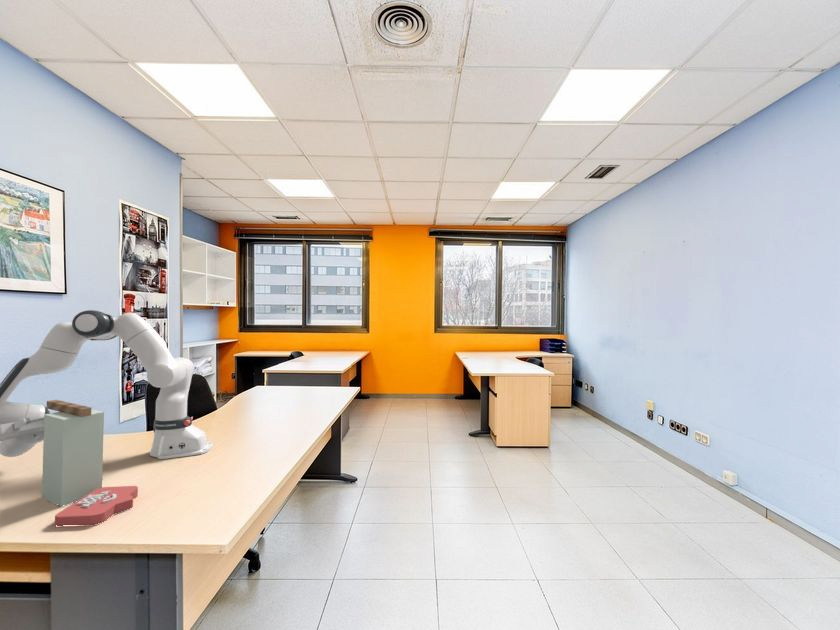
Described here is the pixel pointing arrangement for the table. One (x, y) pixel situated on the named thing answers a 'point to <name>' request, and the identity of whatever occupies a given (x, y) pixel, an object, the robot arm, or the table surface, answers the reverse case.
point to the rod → (69, 408)
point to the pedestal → (72, 456)
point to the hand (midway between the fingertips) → (46, 416)
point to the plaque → (98, 506)
